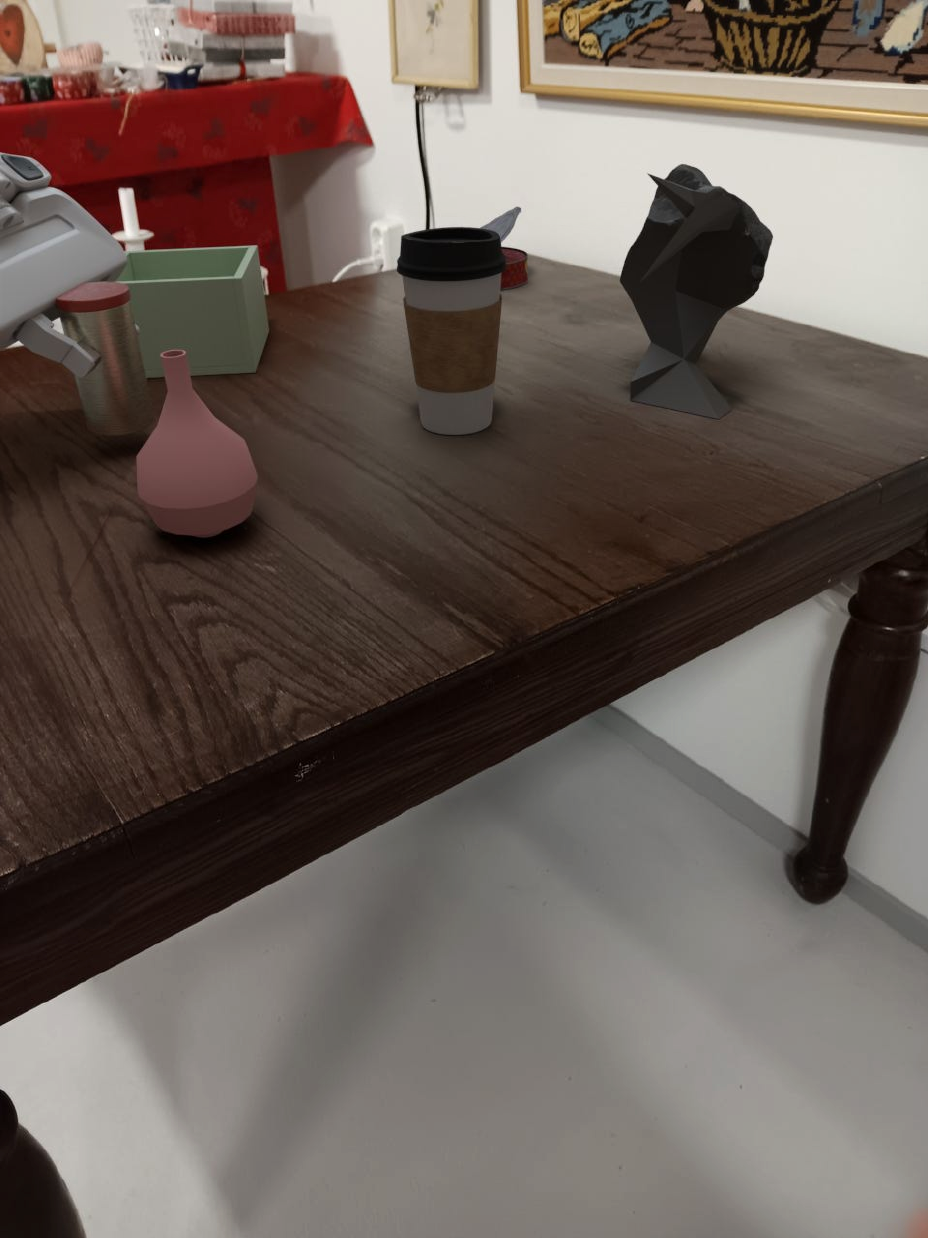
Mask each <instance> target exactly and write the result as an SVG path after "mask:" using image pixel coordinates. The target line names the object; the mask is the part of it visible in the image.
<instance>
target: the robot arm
mask: <svg viewBox="0 0 928 1238" xmlns="http://www.w3.org/2000/svg"><path fill="white" fill-rule="evenodd" d="M51 180H52V175H51V173H50V172H49V170H47V168H45V167H44V166H43V165H42V164H41V163H40V162H39V161H38V160H36V159H34V158H33V157H30V156H24V155H18V154H10V153H5V152H0V352H2V351H4V350H6V349H7V348H9V347H11V346H12V345H14V344H16V343H17V342H20V344H22V345H23V346H24V347H25V348H27V349H28V350H29V351H30V352H31V353H33V354H36V355H38V356H41V357H43V358H46V359H48V360H50V361H54V362H56V363H59V364H62V365H63V366H64V367H65V368H67V370H69V371H70V372H72V374H73V375H74V374H75V375H76V376H77V377H80V378H83V377H85V376H87V375H88V374H89V373H91V372H92V371H93V370H94V369H95V368H96V366H97V365H98V364H99V363H100V361H101V356H100V354H99V353H98V352H97V351H96V350H94V349H92V347H91V346H90V345H89V344H88V343H86V342H85V341H84V340H81V341H80V342H78V343H77V342H76V341H74V340H72V339H71V338H69V337H67V336H65V335H64V333H62V332H60V331H58V330H56V329H55V328H54V327H55V323H54V321H57V320H58V319H60V317H59V313H58V309H57V308H56V306H55V304H56V298H57V297H58V296H60V295H62V294H64V293H66V292H68V291H70V290H72V289H73V288H75V287H77V286H79V285H81V284H83V283H89V282H115V281H116V280H117V279H118V277H119V276H120V274H121V273H122V271H123V270H124V268H125V267H126V265H127V263H128V260H127V257H126V254H125V252H124V251H125V250H124V248H123V247H122V245H121V243H119V242H118V240H117V239H116V238H115V237H114V236H113V235H112V234H111V233H110V232H109V231H108V230H107V229H106V228H105V227H104V226H103V225H102V224H101V223H100V222H99V221H98V220H97V219H96V218H95V217H94V216H93V215H92V214H90V212H88V211H87V210H86V209H85V208H84V207H83V206H82V205H81V204H80V203H79V202H77V201H76V200H75V199H74V198H73V197H71V196H70V195H69V194H67V193H66V192H64V191H62V190H61V189H58V188H56V187H54V186H53V187H52V186H49V185H50V182H51ZM135 326H136V331H137V335H138V336H139V334H140V329H139V327H138V326H137V325H136V324H135Z"/></svg>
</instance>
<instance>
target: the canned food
mask: <svg viewBox="0 0 928 1238" xmlns="http://www.w3.org/2000/svg"><path fill="white" fill-rule="evenodd" d="M521 213H522V208H521V207H520V206H515V207H513V208H511V209H509V210H508V211H506V212H504V213H503V214H501V215H499V216H497V217H495V218H493V219H492V220H491V221H490V222H488V223H486V224H483V225H482V226H480V228H482V229H487V230H491V231H494V232H496V233H498V234H499V235H500V240H501V243H503V241H504V240H506V239H507V237H509V235H510V234H511V232H512V230H513V229H514V227H515V225H516V222H517V219H518V217H519V215H520V214H521ZM501 247H502V252H503V253H504V255H505V257H506V260H505V262H506V265H507V268H506V269H505V270H504V271H503V272H501V286H500V291H505V290H511V289H516V288H518V287H521V286H523V285H525V284H526V283H527V282H528V259H529V257H528V256H529V255H528V253H527V252H526V250H523V249H519V248H517V247H515V248H514V247H509V246H508V247H507V246H501Z"/></svg>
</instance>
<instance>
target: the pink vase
mask: <svg viewBox="0 0 928 1238" xmlns="http://www.w3.org/2000/svg"><path fill="white" fill-rule="evenodd" d="M160 356H161V361H162V366H163V370H164V375H165V377H164V380H165V385H166V389H167V394H166V396H165V400H164V403H163V407H162V410H161V413H160V416H159V419H158V421H157V425H156V427H155V428H154V429H153V431H152V433H151V434H150V435H149V437H148V438H147V440H146V442H145V443H144V444H143V447H141V449H140V450H139V452H138V454H137V455H136V457H135V458H136V489H137V493H138V497H139V499H140V501H141V503H142V504H143V506H144V507H145V509H146V511H147V513H148V514H149V515H150V518H151V519H152V521H153V522H154V524H155V526H157V527H158V528H159V529H160V530H162V531H163V532H166V533H170V534H174V535H180V536H181V535H182V536H193V537H196V538H212V537H216V536H218V535H220V534H221V533H223V532H224V531H226V530H229V529H231V528H233V527H235V526H237V525H240V524H242V523H243V522H244V521H245V520H246V519H248V518H249V517H250V516H252V512H253V509H254V507H255V500H256V493H257V487H258V479H259V475H258V472H257V469H256V467H255V464H254V461H253V458H252V455H251V453H250V450H249V447H248V445H247V442H246V440H245V439H244V438H243V437H242V436H241V435H239V434H238V433H236V431H234V430H232V429H231V428H230V427H228V425H226V424H225V423H223V422H222V421H221V420H219V419H218V418H216V417H215V416H214V415H213V413H212V412H211V411H210V409H209V408H208V406H207V405H206V404H205V403H204V401H203V400H202V399H201V397H200V396H199V394H197V392H196V391H195V389H193V383H192V376H190V371H189V366H188V360H187V354H186V351H184V350H170V351H166V352H163V353H161V354H160Z"/></svg>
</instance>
